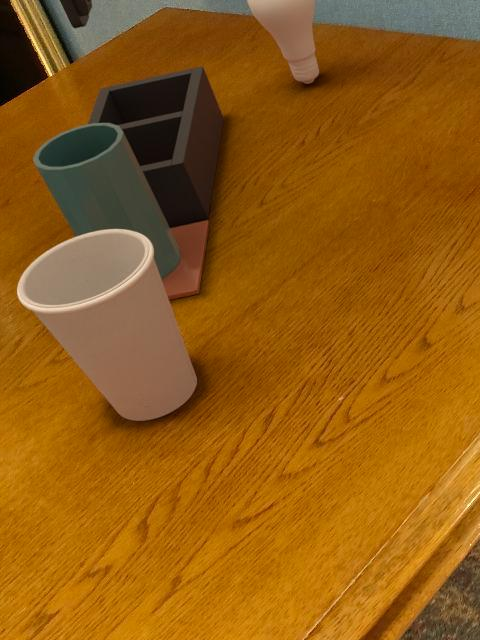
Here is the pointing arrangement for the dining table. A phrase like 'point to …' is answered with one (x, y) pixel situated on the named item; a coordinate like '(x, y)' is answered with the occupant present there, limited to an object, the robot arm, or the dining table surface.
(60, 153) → the cup
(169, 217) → the divided storage box
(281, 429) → the dining table surface
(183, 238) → the coaster
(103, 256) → the dixie cup
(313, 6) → the lightbulb
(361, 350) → the dining table surface
